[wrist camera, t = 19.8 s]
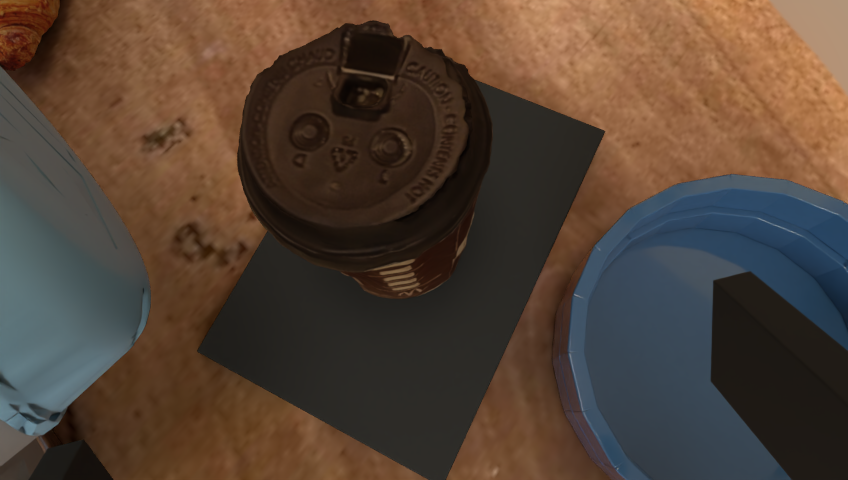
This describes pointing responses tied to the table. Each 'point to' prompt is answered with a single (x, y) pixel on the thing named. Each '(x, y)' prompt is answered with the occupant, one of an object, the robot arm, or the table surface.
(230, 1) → the table surface
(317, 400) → the mat
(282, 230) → the coffee cup
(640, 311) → the bowl
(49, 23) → the croissant
